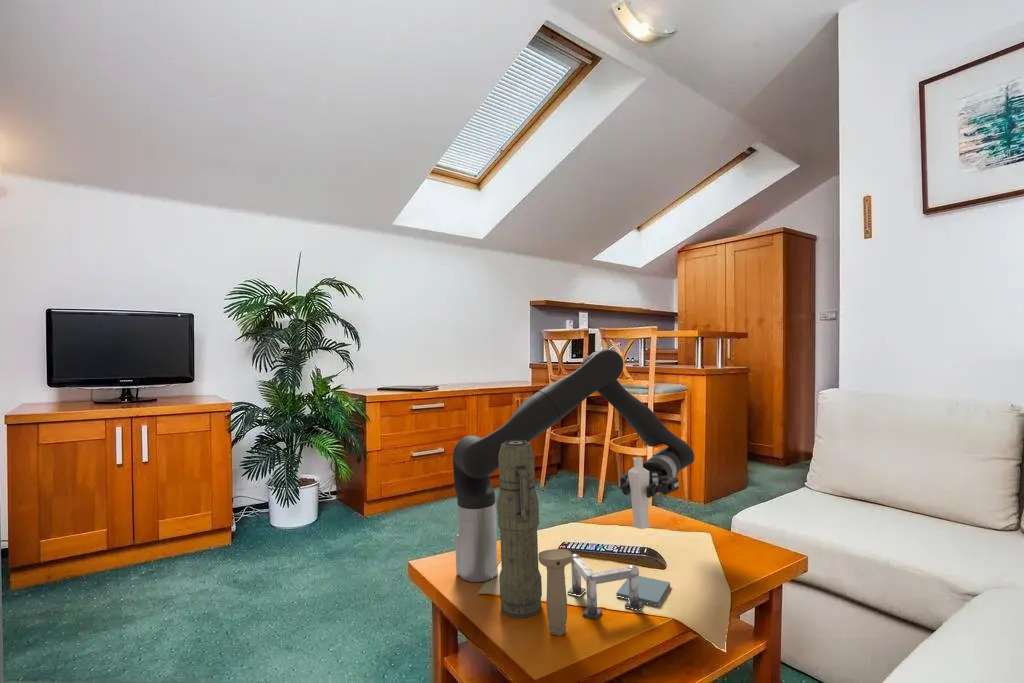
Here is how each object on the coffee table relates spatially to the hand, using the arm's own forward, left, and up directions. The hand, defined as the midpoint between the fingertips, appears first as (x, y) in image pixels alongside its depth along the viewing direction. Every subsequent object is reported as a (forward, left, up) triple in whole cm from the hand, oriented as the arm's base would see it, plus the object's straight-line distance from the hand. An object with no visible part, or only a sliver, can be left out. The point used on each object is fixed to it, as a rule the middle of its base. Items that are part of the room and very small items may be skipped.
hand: (636, 491), depth 112 cm
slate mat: (0, +3, -23) cm, 23 cm away
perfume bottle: (0, +3, -8) cm, 9 cm away
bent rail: (-7, -8, -23) cm, 25 cm away
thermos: (-21, -15, -23) cm, 35 cm away
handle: (-10, -20, -23) cm, 32 cm away
